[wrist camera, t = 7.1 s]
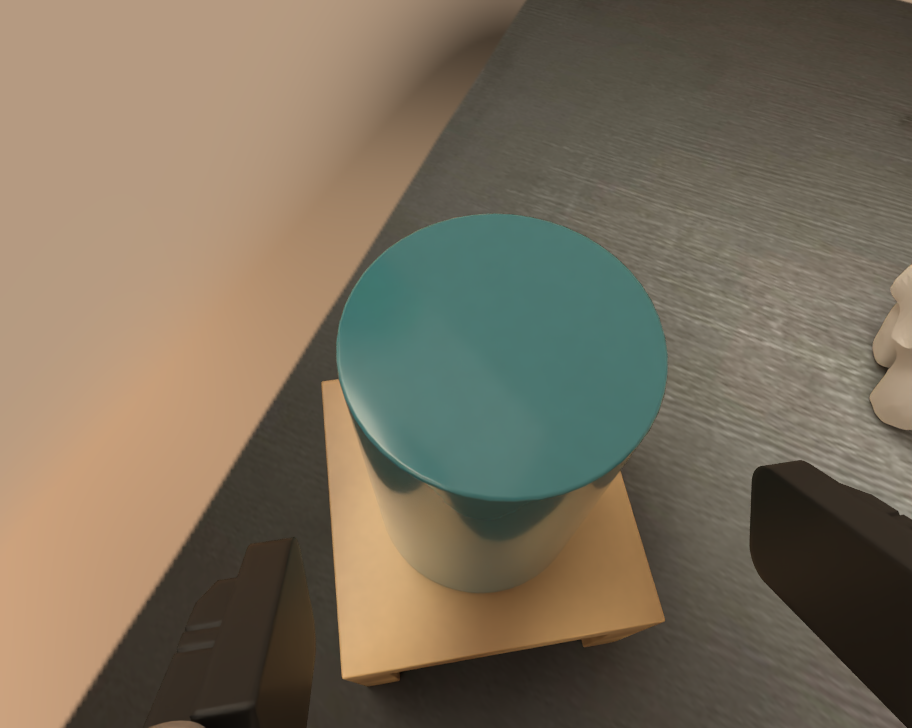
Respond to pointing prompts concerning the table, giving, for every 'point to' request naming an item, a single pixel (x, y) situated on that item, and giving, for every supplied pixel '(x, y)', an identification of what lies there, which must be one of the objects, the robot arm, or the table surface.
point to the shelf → (461, 613)
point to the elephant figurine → (896, 358)
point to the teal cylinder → (496, 390)
